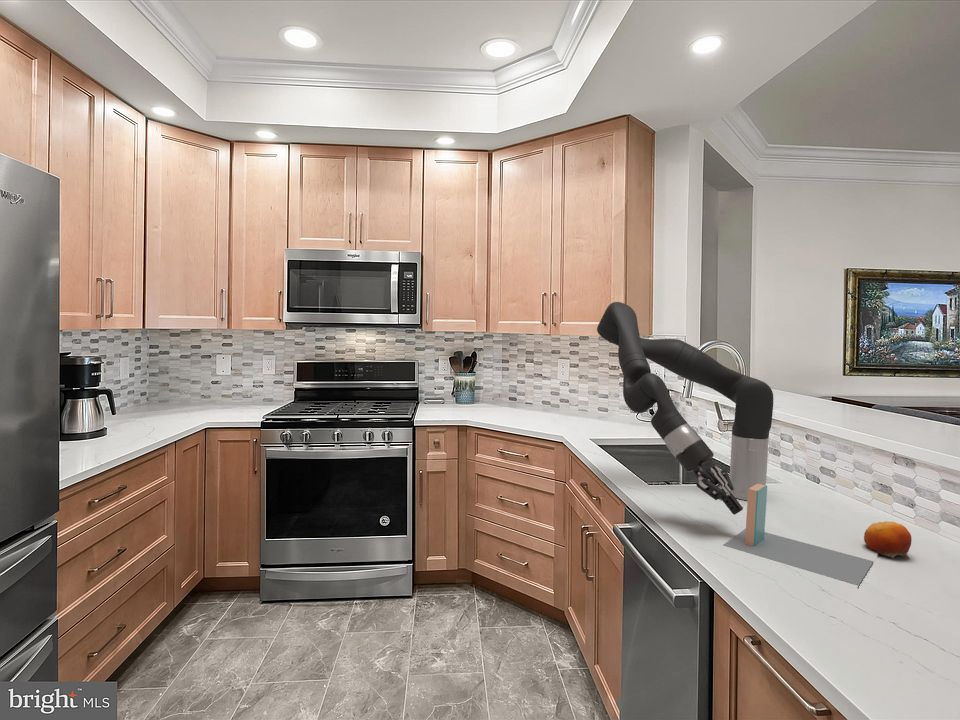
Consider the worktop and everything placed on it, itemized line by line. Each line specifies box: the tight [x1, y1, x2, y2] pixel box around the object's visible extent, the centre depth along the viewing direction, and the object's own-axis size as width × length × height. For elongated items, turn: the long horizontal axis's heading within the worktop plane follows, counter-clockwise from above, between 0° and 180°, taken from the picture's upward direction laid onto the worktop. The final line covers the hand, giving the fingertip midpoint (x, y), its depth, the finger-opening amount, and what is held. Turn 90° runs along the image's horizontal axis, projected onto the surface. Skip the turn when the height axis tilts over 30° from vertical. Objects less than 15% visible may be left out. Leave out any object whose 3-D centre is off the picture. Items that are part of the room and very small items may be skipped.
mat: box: [722, 528, 874, 589], centre depth 110 cm, size 15×24×1 cm, turn 45°
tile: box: [745, 484, 768, 546], centre depth 116 cm, size 6×2×12 cm, turn 135°
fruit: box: [863, 521, 913, 560], centre depth 112 cm, size 8×8×8 cm
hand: (738, 512), depth 118 cm, fingers closed
